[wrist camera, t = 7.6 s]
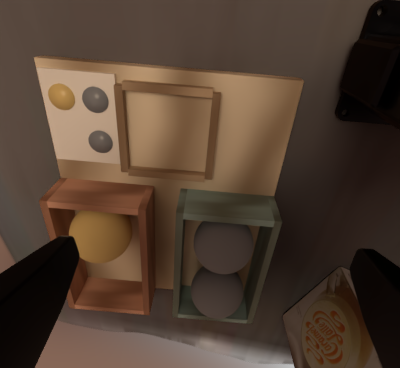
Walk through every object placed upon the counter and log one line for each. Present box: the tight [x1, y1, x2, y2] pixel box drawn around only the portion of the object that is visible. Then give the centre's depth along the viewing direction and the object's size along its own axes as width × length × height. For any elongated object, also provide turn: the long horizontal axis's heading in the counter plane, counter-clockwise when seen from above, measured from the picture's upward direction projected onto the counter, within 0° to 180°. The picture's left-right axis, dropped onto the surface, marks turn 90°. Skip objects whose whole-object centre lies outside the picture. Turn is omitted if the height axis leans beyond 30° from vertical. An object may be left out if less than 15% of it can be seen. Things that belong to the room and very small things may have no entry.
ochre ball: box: [69, 210, 132, 263], centre depth 20 cm, size 4×4×4 cm
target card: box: [37, 67, 120, 164], centre depth 18 cm, size 5×6×1 cm
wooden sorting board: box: [34, 55, 304, 324], centre depth 21 cm, size 16×20×4 cm
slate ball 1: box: [194, 221, 254, 274], centre depth 20 cm, size 4×4×4 cm
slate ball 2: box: [191, 266, 243, 319], centre depth 23 cm, size 4×4×4 cm
